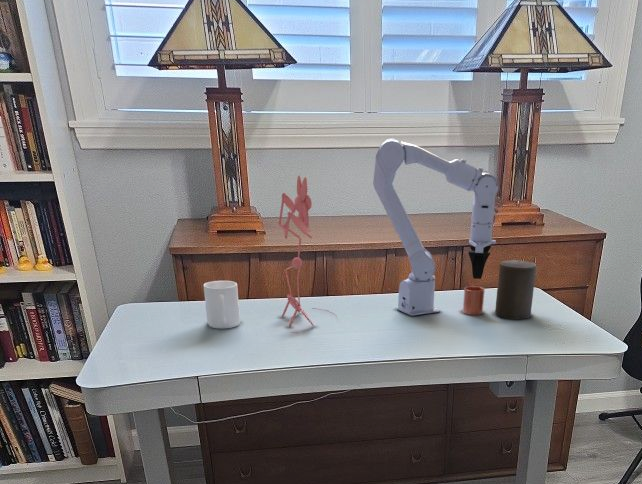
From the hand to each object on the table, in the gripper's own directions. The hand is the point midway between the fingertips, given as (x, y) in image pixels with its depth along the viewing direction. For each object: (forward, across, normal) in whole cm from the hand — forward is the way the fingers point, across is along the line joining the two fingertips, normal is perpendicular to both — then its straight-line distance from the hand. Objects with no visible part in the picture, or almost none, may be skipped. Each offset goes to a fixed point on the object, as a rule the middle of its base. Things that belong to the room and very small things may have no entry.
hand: (477, 275), depth 190 cm
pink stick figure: (+10, -18, +42) cm, 47 cm away
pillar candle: (+10, -1, -10) cm, 15 cm away
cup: (+10, -28, +63) cm, 69 cm away
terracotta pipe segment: (+10, -1, +1) cm, 10 cm away
